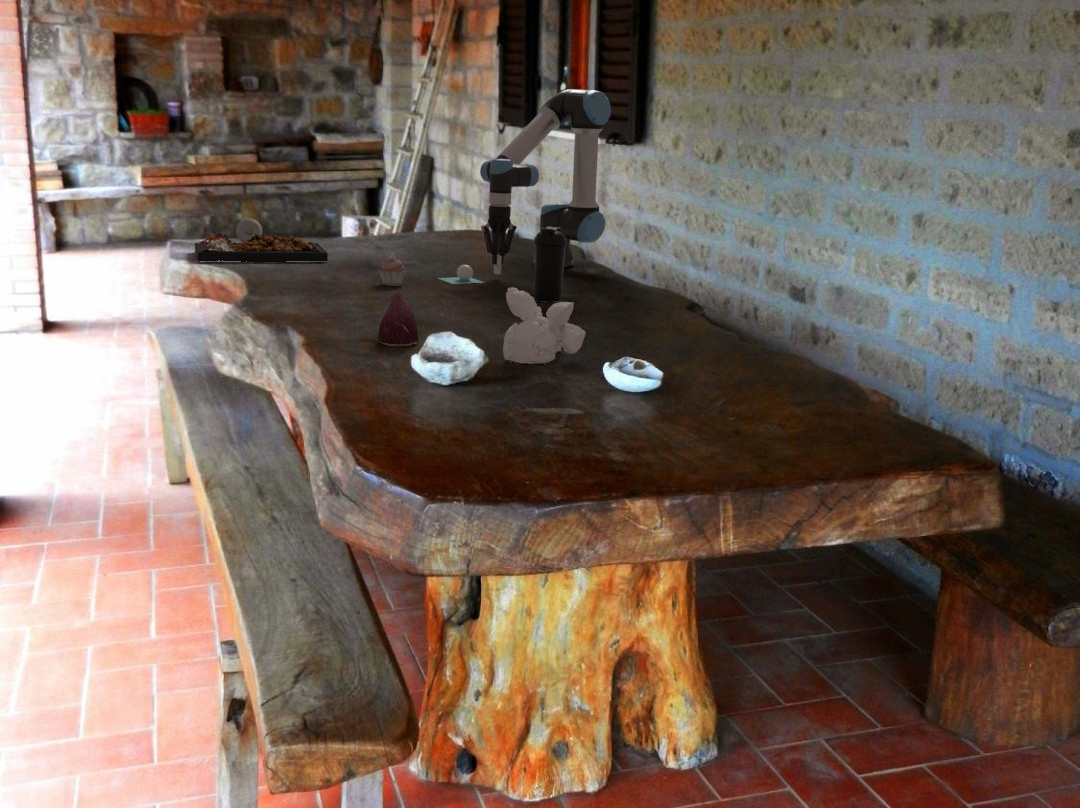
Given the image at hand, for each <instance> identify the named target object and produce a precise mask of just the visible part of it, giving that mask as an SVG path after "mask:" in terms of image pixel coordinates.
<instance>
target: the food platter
mask: <svg viewBox="0 0 1080 808" xmlns="http://www.w3.org/2000/svg"><path fill="white" fill-rule="evenodd" d="M212 229H213V233H214V234H213V233H211V232H212V231H211V232H209V233H210V235H209V236H205V239H204V240H201V241H198V242H194V254H195V253H196V254H195V257H196V256H197V258H196V261H197V260H198V261H199V262H200V261H206V262H207V261H218V260H220V261H222V260H223V261H241V262H246V261H247V262H286V261H329V260H328V251H326V250H325V249H324V248H323V247H322V246H321V244H319V243H318V242H312V241H309V242H308V241H305V240H302V239H300V238H296V237H295V236H293V235H289V237H288V236H286V234H283V235H281V236H280V235H278V236H277V235H276V234H275V233H273V234H272V233H271V234H270V235H269V236H268V235H267V234H266V235H265V234H264V235H261V234H255V236H252V238H251V240H250V239H249V240H246V241H243V242H235V241H234V240H231V239H229V238H230V236H228V234H227V233H225V234H223V233H221V232H218V231H216V230H215V229H214V227H212ZM215 235H216V236H215ZM198 261H197V262H198Z"/></svg>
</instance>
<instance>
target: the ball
mask: <svg viewBox="0 0 1080 808" xmlns="http://www.w3.org/2000/svg"><path fill="white" fill-rule="evenodd" d="M456 275H457V277H458V278H459V279H460V280H463V281H468V280H470V279H471V278H473V275H474V271H473V268H472V267H471V266H470V265H468V264H461V265H460V266H459V267H458V268H457V270H456Z"/></svg>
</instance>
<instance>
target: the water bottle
mask: <svg viewBox="0 0 1080 808" xmlns="http://www.w3.org/2000/svg"><path fill="white" fill-rule="evenodd" d="M558 229H561V228H560V227H547V228H542V231H541V232H540V231H539V232H537V233H536V235H535V236H534V239H533V240H534V242H533V243H534V245H535V246H534V247H535V248H534V249H535V250H534V251H535V252H534V257H535V264H534V297H533V298H534V299H535V300H538V301H547V302H553V301H559V300H561V301H562V292H563V284H564V283H563V280H564V269H565V268H564V259H565V247H566V245H567V238H566V237H565V235H564V234H563V233H562V232H560V231H558ZM538 301H537V302H538Z"/></svg>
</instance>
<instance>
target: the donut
mask: <svg viewBox="0 0 1080 808" xmlns="http://www.w3.org/2000/svg"><path fill="white" fill-rule="evenodd" d="M247 228H252V230H253V231H252V232H253V233H252V234H247V233H246V229H247ZM235 234H236V236H237V238H238V240H240V242H241V243H243V241H246V240H249V239H250V240H251V238H252V236H255V234H261V235H262V234H263V228H262V225H261V224H260V223H259V221H257V220H256V219H254V218H244V219H241V220H240V221H239V222H238V223H237V226H236V229H235ZM262 236H263V235H262Z"/></svg>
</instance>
